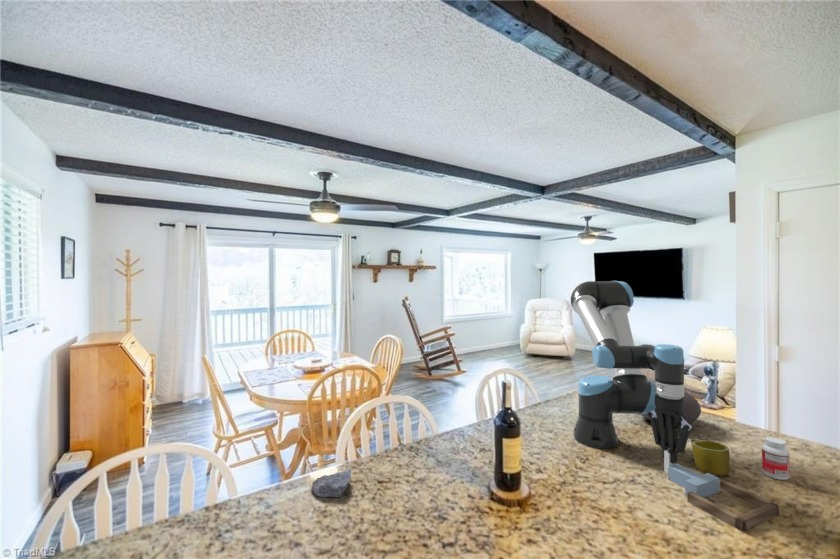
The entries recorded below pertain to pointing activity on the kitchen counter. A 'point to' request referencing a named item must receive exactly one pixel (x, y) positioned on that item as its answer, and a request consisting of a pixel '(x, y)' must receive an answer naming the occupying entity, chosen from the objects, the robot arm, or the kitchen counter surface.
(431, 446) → the kitchen counter surface
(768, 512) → the bay
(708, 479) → the blue t-shaped block
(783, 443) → the pill bottle
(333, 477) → the rock
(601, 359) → the robot arm
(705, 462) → the mug
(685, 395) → the smooth stone
